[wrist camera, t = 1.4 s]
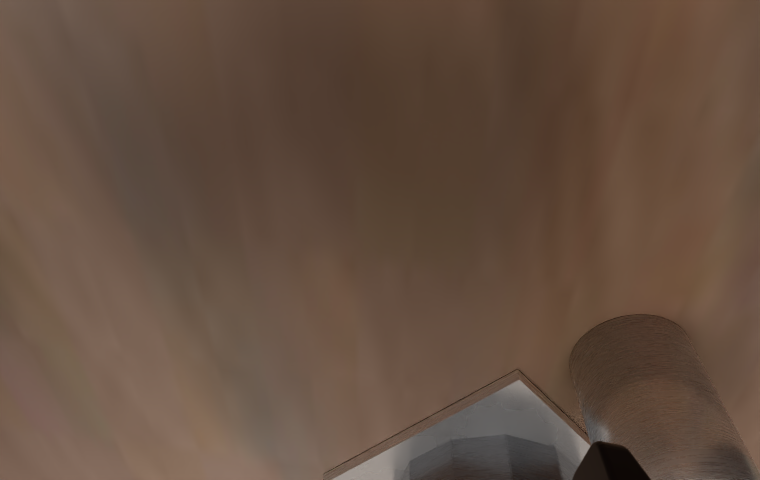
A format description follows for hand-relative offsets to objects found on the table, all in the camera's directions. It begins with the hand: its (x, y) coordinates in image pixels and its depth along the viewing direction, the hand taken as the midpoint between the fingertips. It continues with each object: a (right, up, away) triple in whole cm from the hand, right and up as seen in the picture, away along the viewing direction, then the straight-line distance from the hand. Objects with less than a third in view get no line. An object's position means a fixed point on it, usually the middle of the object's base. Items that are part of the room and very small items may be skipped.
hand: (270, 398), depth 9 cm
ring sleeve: (+7, -10, +23) cm, 27 cm away
